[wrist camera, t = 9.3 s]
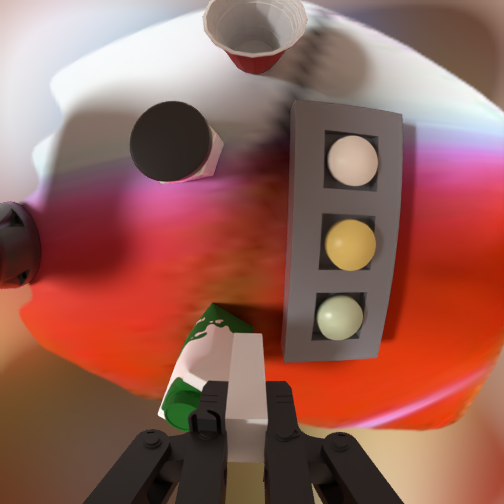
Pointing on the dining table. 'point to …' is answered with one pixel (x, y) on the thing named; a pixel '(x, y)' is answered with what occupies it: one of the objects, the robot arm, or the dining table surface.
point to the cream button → (352, 161)
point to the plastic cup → (254, 30)
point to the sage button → (339, 316)
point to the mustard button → (350, 244)
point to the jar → (174, 143)
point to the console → (329, 212)
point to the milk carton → (201, 363)
